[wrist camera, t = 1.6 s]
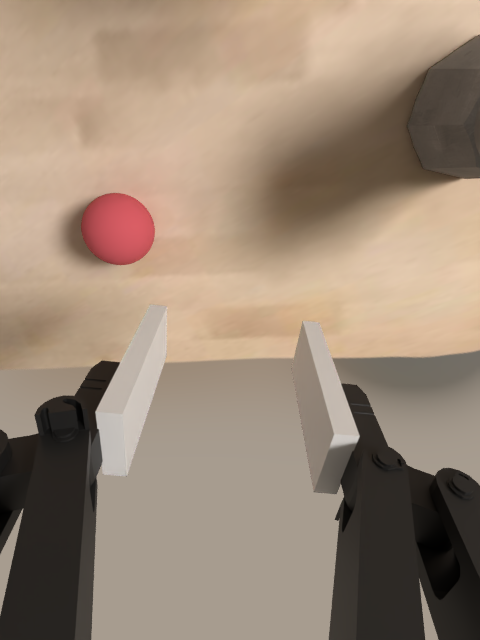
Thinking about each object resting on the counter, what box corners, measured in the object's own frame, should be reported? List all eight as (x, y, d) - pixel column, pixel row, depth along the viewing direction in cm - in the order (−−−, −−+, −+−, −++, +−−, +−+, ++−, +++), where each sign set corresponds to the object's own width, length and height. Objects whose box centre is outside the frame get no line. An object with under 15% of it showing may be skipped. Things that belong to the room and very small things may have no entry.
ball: (99, 248, 32) (73, 271, 27) (93, 183, 29) (63, 196, 24) (160, 255, 32) (146, 279, 27) (161, 191, 29) (144, 206, 25)
